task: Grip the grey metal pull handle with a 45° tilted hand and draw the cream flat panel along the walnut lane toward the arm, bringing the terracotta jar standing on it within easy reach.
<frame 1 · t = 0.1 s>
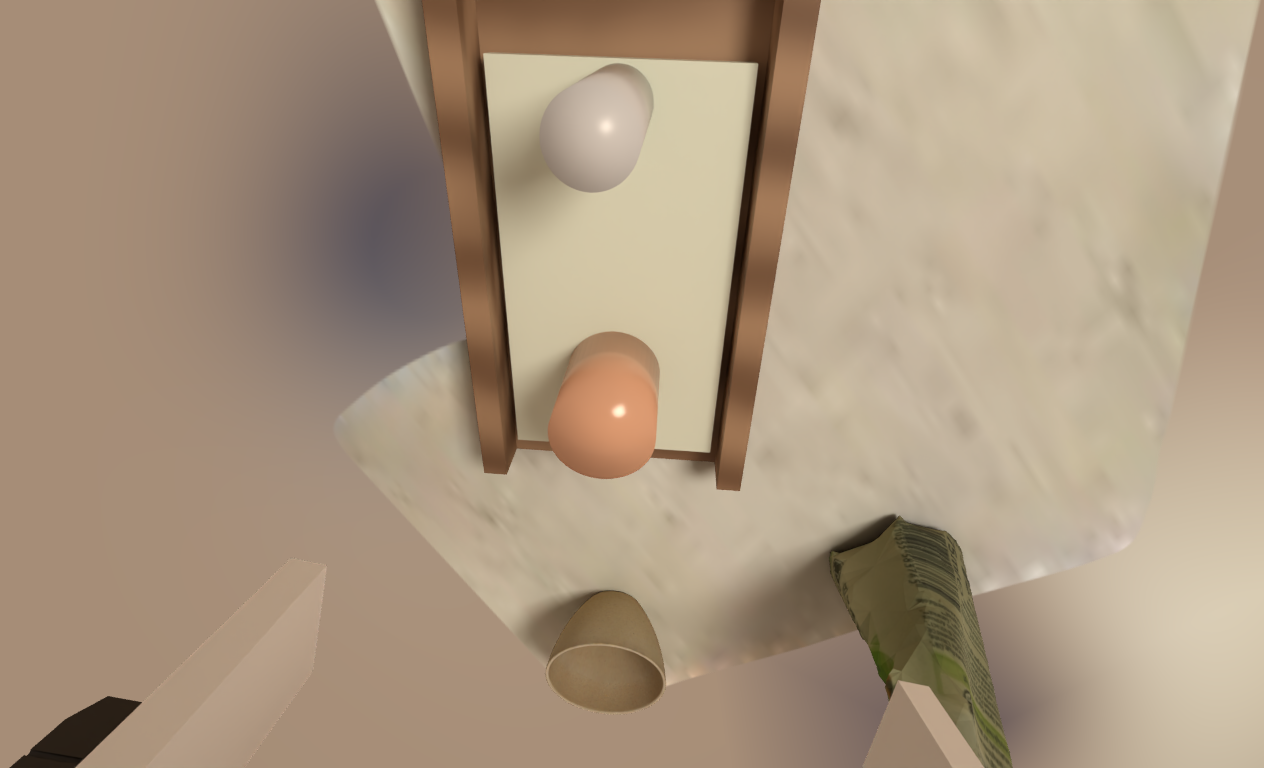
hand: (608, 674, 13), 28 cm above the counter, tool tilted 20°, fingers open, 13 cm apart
flower pot: (614, 606, 55), on the counter
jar: (614, 372, 39), point 2 cm above the counter, touching cream flat panel
lane: (620, 240, 37), on the counter
cream flat panel: (606, 322, 31), point 7 cm above the counter, slide at 0.0 cm, touching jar
pouch: (885, 557, 49), on the counter
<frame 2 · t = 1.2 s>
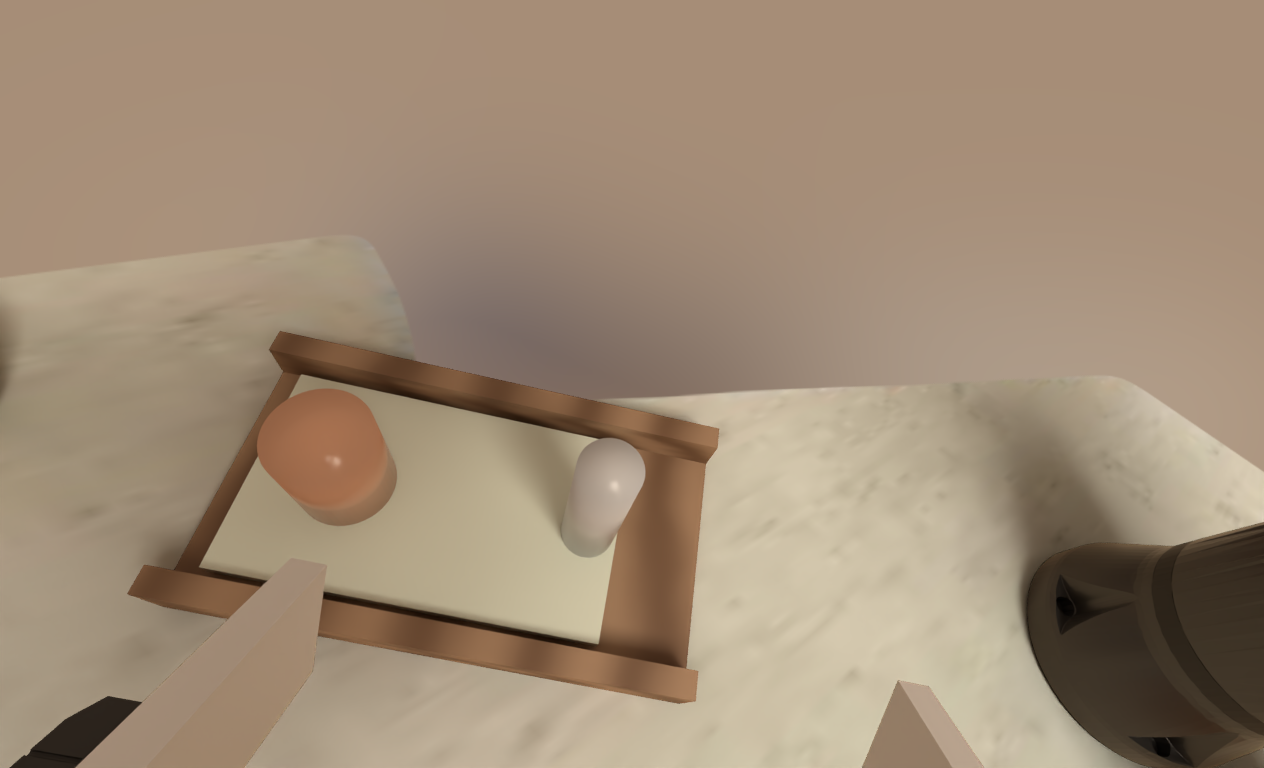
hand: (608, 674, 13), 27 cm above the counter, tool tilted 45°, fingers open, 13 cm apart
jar: (348, 480, 39), point 3 cm above the counter, touching cream flat panel
lane: (471, 517, 41), on the counter
cream flat panel: (431, 472, 35), point 7 cm above the counter, slide at 0.0 cm, touching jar
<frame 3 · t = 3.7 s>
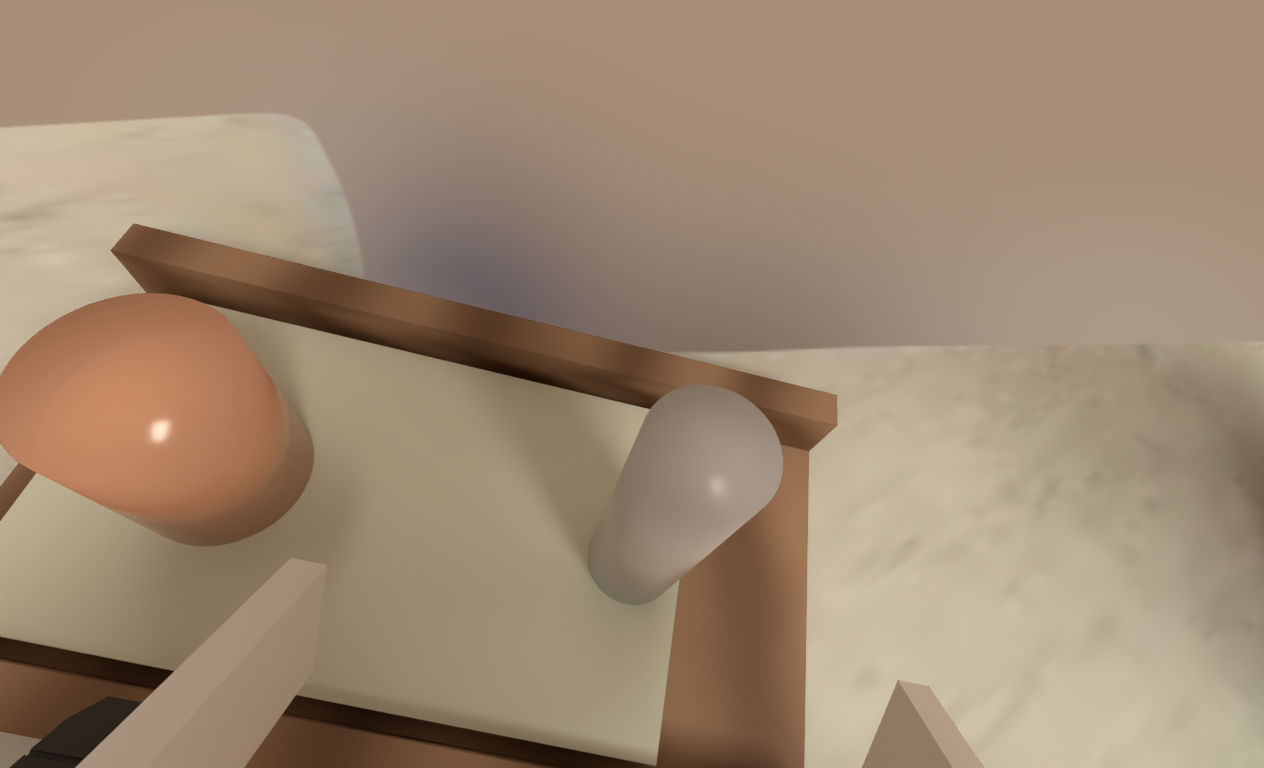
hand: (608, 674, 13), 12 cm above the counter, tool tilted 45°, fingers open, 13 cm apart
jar: (227, 467, 23), point 3 cm above the counter, touching cream flat panel
lane: (441, 531, 25), on the counter
cream flat panel: (355, 454, 19), point 7 cm above the counter, slide at 0.0 cm, touching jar
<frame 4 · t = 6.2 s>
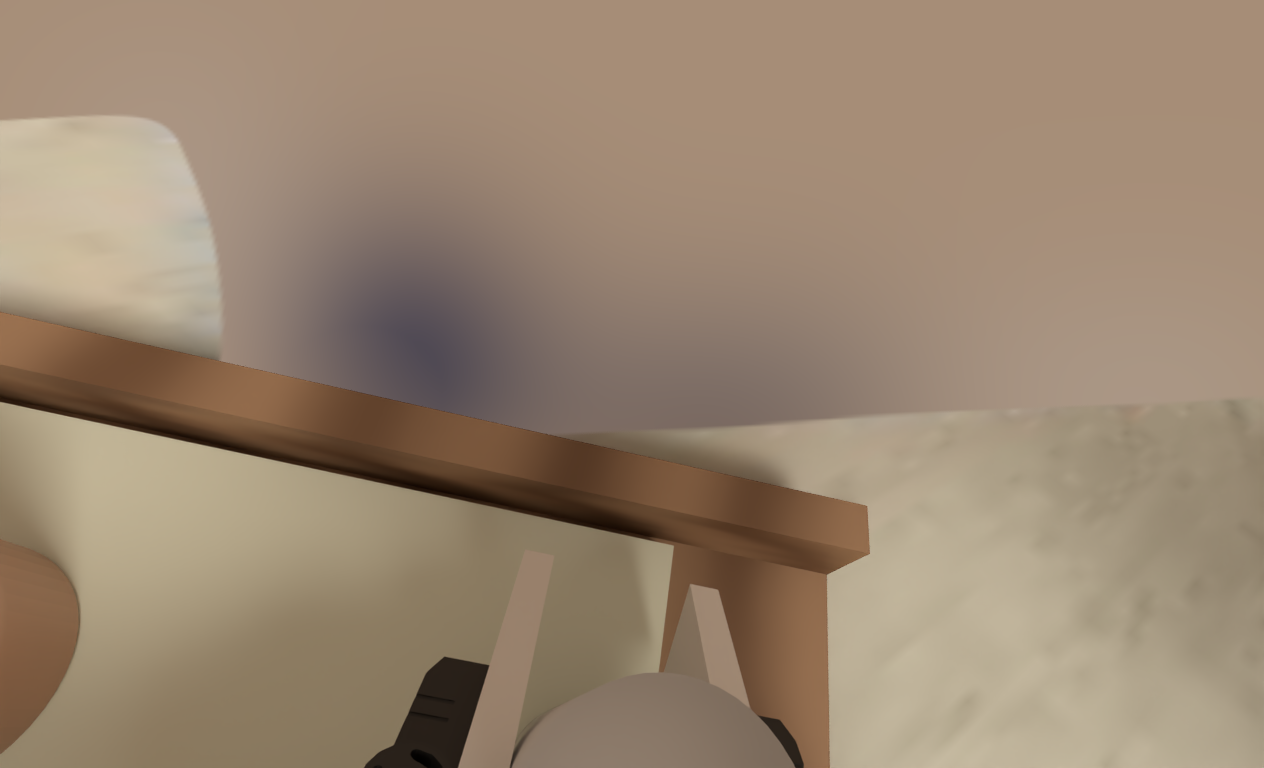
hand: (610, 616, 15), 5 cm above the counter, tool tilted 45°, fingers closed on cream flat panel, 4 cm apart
lane: (293, 727, 17), on the counter
cream flat panel: (57, 705, 11), point 7 cm above the counter, slide at 0.0 cm, touching gripper, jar
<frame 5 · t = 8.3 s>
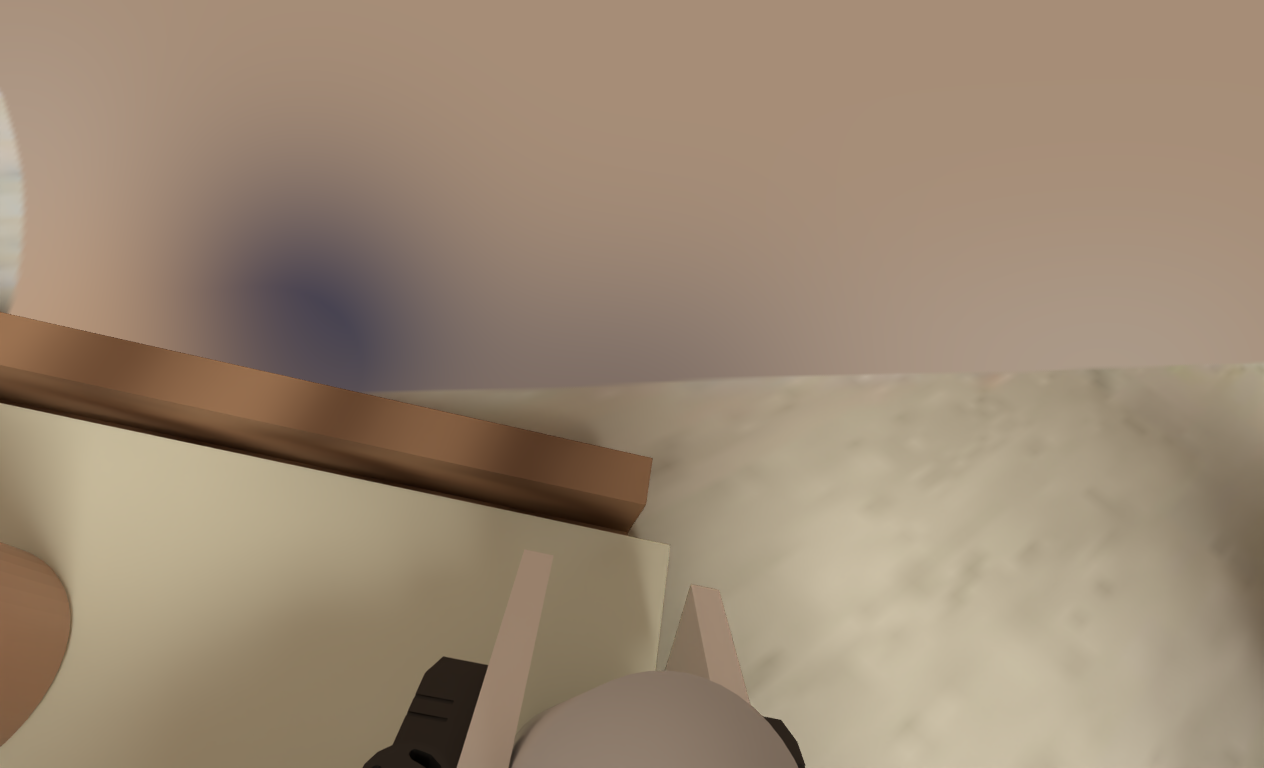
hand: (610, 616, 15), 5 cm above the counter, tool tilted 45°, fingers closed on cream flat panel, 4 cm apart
lane: (23, 681, 17), on the counter
cream flat panel: (51, 706, 11), point 7 cm above the counter, slide at 7.3 cm, touching gripper, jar
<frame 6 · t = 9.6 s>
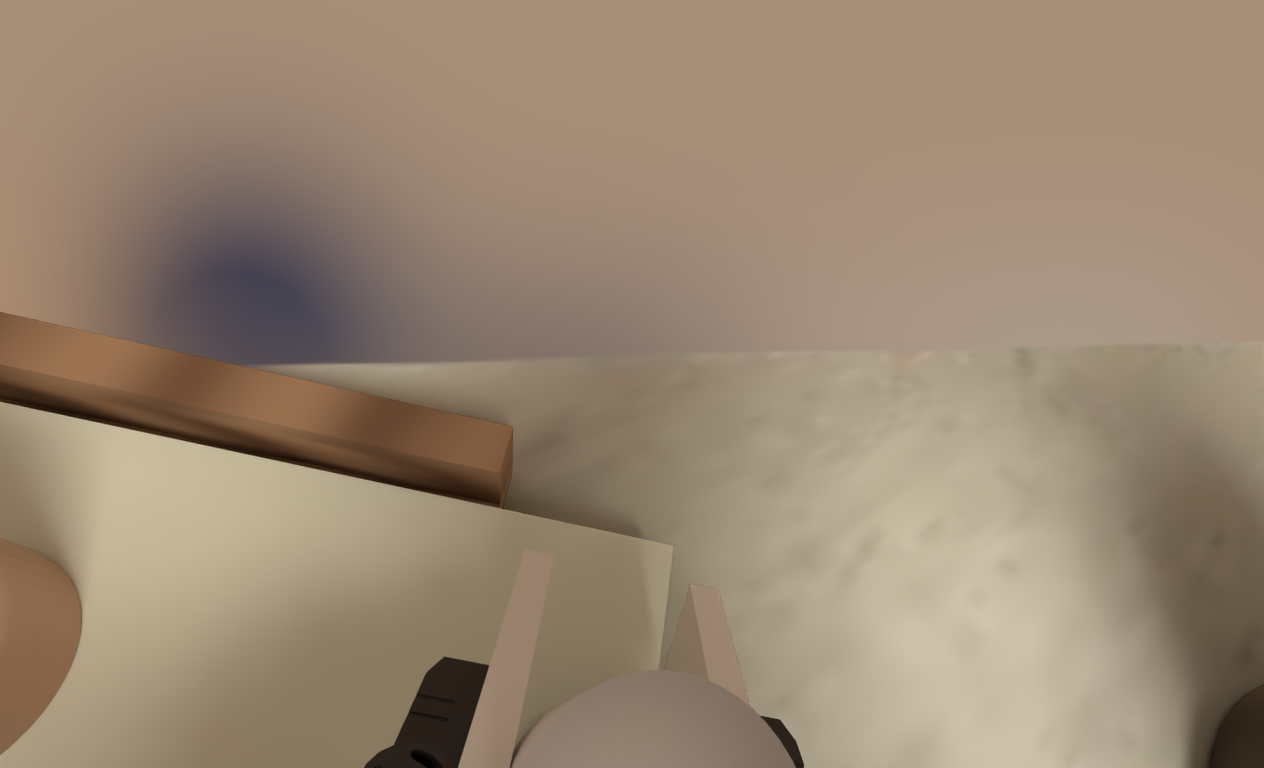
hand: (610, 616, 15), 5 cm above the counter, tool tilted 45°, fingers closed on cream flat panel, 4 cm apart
cream flat panel: (59, 703, 11), point 7 cm above the counter, slide at 11.9 cm, touching gripper, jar
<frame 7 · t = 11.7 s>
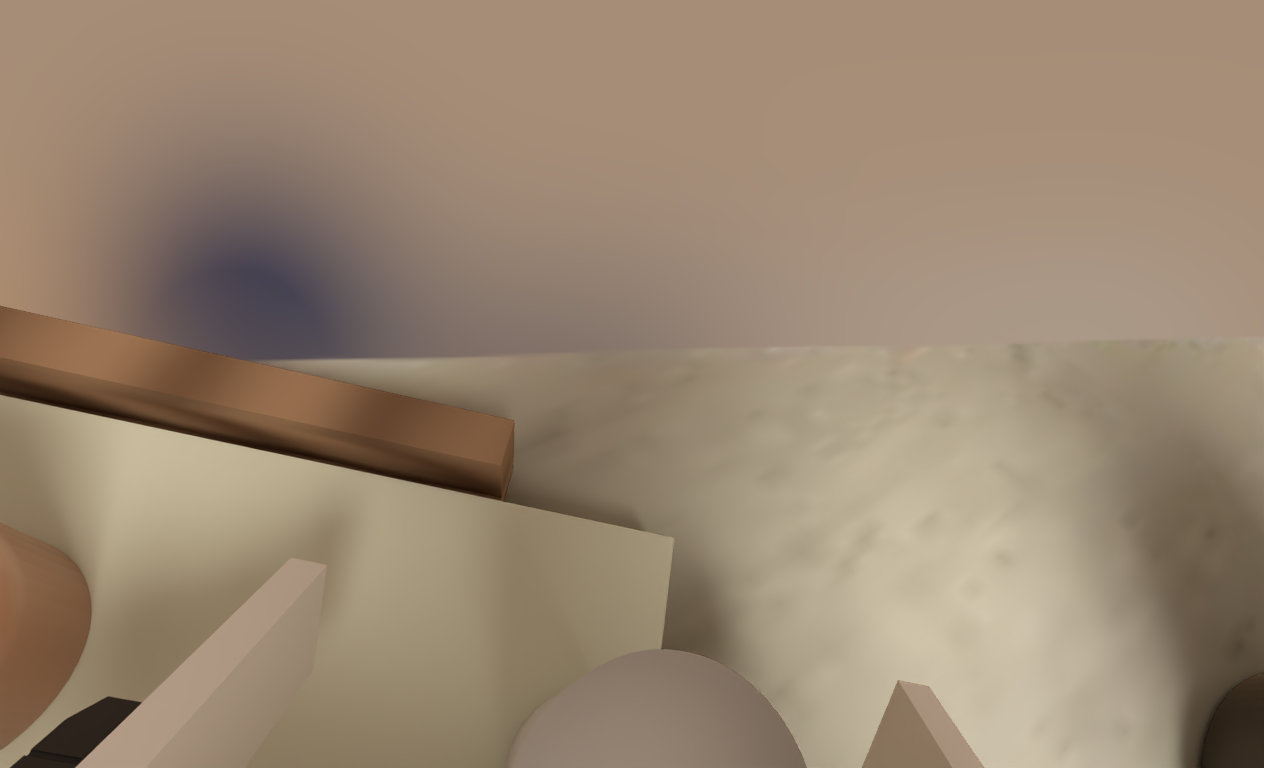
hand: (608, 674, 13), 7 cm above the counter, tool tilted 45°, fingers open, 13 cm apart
cream flat panel: (73, 689, 11), point 7 cm above the counter, slide at 12.0 cm, touching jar
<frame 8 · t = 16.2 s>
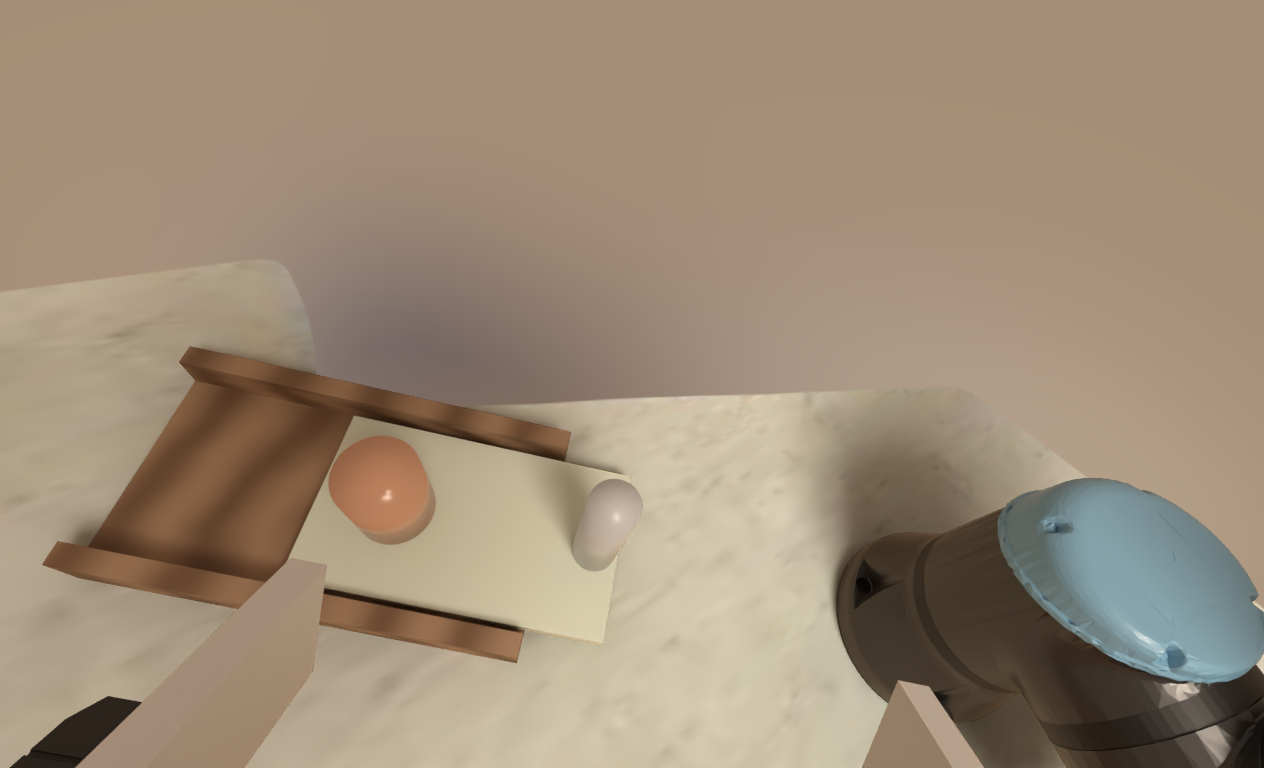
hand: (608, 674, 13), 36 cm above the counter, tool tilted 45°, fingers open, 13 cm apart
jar: (396, 506, 47), point 3 cm above the counter, touching cream flat panel
lane: (352, 506, 49), on the counter
cream flat panel: (468, 502, 43), point 7 cm above the counter, slide at 12.0 cm, touching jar
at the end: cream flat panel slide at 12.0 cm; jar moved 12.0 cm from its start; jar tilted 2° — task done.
